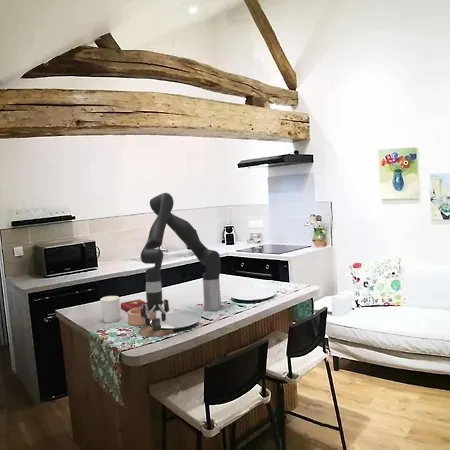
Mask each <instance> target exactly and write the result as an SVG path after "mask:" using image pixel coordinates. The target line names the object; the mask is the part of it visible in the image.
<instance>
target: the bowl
mask: <svg viewBox="0 0 450 450" xmlns="http://www.w3.org/2000/svg"><path fill="white" fill-rule="evenodd" d="M147 309H148V307H146V310H147ZM156 317H157V311H155V312H152V314H150V316H149V318H150V321H151V320H152V319H154V318H156ZM127 322H128V324H129V325H131V326H134V327H145V326H147V325H146V324H145V318H144V317H141V307H139V308H134V309H131V310H129V311H128V312H127Z"/></svg>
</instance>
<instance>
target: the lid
mask: <svg viewBox="0 0 450 450" xmlns="http://www.w3.org/2000/svg"><path fill="white" fill-rule="evenodd" d="M160 324H161V318H159V317H157V318H154V319H152V324H150V325H152V327H151V326H150V325H149V326H147V325H145V326H142V327H141V328H140V329H138V335H140V337H141V336H142V337H146V338H158V337H159V338H160V337H164V336H168V335H170V334H172V333H174V331H173V330H161V329H160V328H161V325H160Z"/></svg>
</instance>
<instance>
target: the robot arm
mask: <svg viewBox="0 0 450 450" xmlns="http://www.w3.org/2000/svg"><path fill="white" fill-rule="evenodd" d="M149 206H150V209H151V210H152V211H153V213H154V214H155V215H156V217H155V219H154V222H153V223H152V225H151V227H150V229H149V233H148V237H147V241H146V242H145V245H144V247H143V248H142V249H141V253H140V260H141V262H142V263H143V264H146V265H148V264H151V265H152V264H154V266H153V267H151V268H150V267H149V268H147V269H146V270H145V296H146V297H145V298H146V302H147V304H145V305H143V304H141V317H144V318H145V324H146V325H145V326H149V325H151V324H150V318H149V316H150V314H152V312H155V311H156V312H160V315H161V316H160V317H161V318H160V320H161V321H162V322H166V319H167V317H166V316H167V315H166V314H167V313H168V312H170V307H169V306H170V305H169V300H168V299H165V298H164V299H163V288H162V287H163V286H162V278H161V275H162V274H161V270H162V269H161V268H162V264H163V260H164V252H163V251H162V250H161V249H160V247H161V246H162V244H163V240H164V234H165V230H166V227H167V226H168V227H169V228H170V230H172V231H173V232H174V233H175V234H176V236H177V237H178V238H179V239H180V240H181V241H182V242H183V243H184V244H185V245H186V246H187V248H189V250H190V251H192V253H193V254H194V255H195V257H196V258H197V260H198V261H199V263H200V264H201V265H203V266H205V272H203V273H202V288H203V290H202V291H203V308H204V310H205V311H208V312H209V311H210V312H212V311H219V310H220V311H221V308H222V298H221V295H222V293H221V290H220V289H221V287H220V285H221V283H220V276H221V256H220V253H219V252H218V251H216V250H213V249H208V247H206V246H205V244H203V243H202V241H201V239H200V236H199V235H198V232H197V230H196V229H195V228H194V227H193V226H192V224H191V223H190V222H189V221H187V220H186V219H183V218H181V217H180V216H178V215H176V214H175V215H174V214H173V213H172V211H173V207H174V198H173V196H172V195H171V194H170V193H168V192H163V193H160V194H158V195H156V196H154V197H152V198H151V199H150V201H149ZM146 307H148V309H147V310H146Z"/></svg>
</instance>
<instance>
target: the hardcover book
mask: <svg viewBox="0 0 450 450" xmlns="http://www.w3.org/2000/svg"><path fill="white" fill-rule="evenodd" d="M141 304H143V305H145V304H147V301H145V300H142V299H135V300H129V301H124V302H120V309H121V310H122V311H124V312H126V313H128V311H129V310H131V309H134V308H139V307H141Z"/></svg>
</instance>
